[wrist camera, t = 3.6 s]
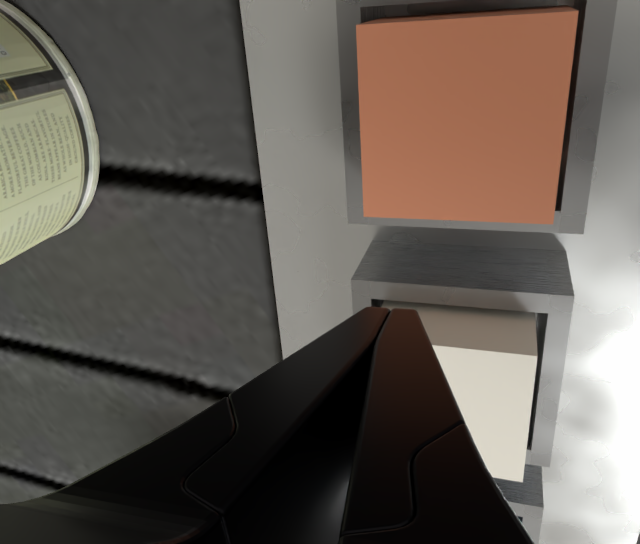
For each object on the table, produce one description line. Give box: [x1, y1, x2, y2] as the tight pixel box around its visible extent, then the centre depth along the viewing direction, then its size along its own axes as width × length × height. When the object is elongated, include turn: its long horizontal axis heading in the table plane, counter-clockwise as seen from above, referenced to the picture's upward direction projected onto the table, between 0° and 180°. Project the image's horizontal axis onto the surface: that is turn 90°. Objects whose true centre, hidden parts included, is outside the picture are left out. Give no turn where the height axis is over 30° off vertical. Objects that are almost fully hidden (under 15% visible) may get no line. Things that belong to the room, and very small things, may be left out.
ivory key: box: [382, 300, 538, 482], centre depth 17 cm, size 4×4×3 cm
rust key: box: [356, 5, 579, 224], centre depth 14 cm, size 4×4×3 cm
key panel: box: [239, 0, 640, 544], centre depth 19 cm, size 14×24×4 cm, turn 4°
